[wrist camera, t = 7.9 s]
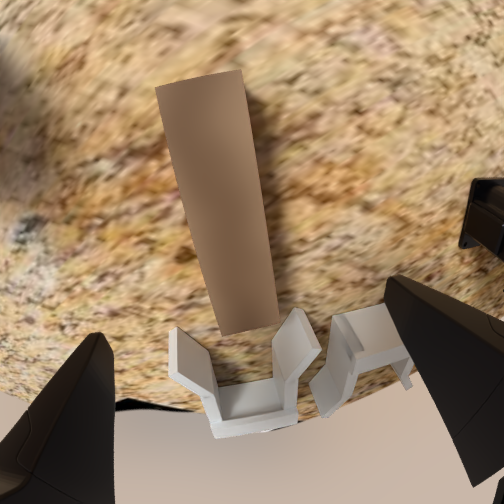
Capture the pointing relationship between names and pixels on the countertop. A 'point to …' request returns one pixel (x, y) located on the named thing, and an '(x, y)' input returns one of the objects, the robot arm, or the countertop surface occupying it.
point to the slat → (222, 196)
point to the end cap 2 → (358, 355)
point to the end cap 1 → (252, 393)
